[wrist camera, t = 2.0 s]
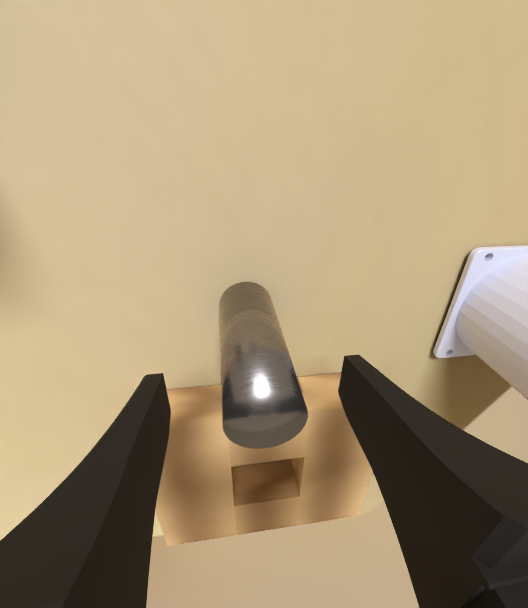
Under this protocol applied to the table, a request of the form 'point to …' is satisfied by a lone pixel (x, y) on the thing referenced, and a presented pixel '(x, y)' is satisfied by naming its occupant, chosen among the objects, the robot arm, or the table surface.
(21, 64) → the table surface
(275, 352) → the metal peg
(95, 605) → the robot arm
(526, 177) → the table surface
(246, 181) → the table surface
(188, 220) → the table surface
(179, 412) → the oak hole block
